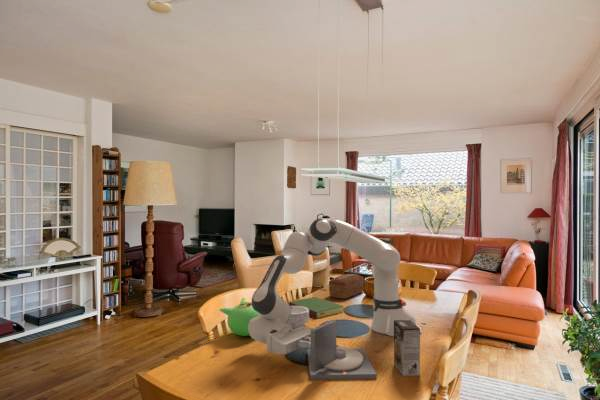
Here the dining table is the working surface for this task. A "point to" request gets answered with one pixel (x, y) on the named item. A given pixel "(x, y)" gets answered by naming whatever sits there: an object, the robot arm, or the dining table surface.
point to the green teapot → (240, 317)
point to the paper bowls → (298, 316)
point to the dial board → (358, 373)
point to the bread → (346, 286)
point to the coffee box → (407, 347)
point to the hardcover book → (318, 306)
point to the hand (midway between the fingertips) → (313, 344)
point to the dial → (331, 350)
